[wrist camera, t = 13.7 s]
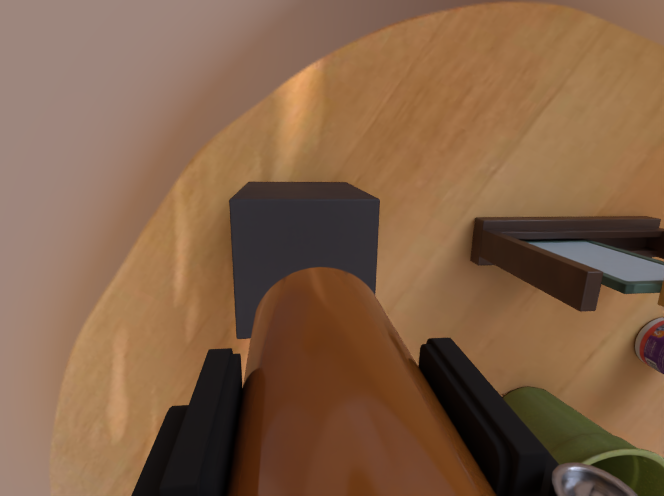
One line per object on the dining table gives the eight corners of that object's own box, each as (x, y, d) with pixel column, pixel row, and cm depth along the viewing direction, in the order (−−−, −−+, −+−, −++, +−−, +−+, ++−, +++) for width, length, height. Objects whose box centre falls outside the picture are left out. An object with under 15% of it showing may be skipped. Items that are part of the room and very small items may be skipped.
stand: (248, 181, 30) (228, 199, 19) (347, 182, 31) (380, 198, 20) (251, 276, 32) (236, 339, 21) (344, 274, 33) (373, 333, 22)
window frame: (475, 217, 33) (590, 258, 21) (646, 216, 35) (844, 252, 23) (469, 260, 34) (577, 324, 22) (636, 257, 36) (822, 313, 24)
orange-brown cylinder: (250, 268, 12) (177, 548, 4) (385, 265, 13) (588, 502, 4) (255, 388, 14) (209, 806, 5) (378, 380, 14) (526, 743, 6)
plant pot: (517, 344, 37) (614, 425, 26) (594, 397, 40) (709, 489, 29) (443, 433, 39) (506, 543, 28) (522, 477, 42) (606, 592, 31)
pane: (515, 232, 32) (682, 292, 19) (589, 231, 33) (801, 287, 19) (511, 255, 32) (673, 329, 19) (585, 253, 33) (789, 323, 20)
